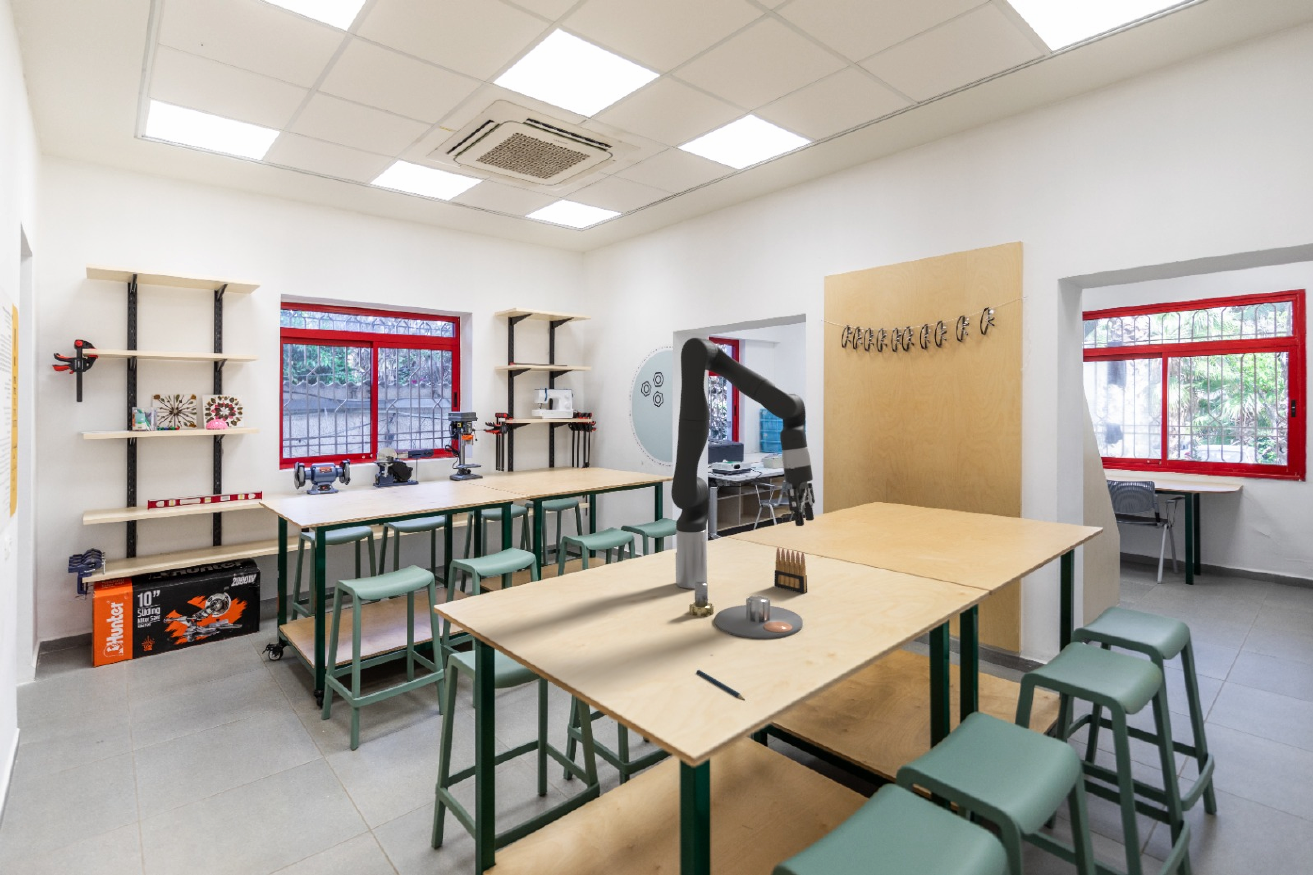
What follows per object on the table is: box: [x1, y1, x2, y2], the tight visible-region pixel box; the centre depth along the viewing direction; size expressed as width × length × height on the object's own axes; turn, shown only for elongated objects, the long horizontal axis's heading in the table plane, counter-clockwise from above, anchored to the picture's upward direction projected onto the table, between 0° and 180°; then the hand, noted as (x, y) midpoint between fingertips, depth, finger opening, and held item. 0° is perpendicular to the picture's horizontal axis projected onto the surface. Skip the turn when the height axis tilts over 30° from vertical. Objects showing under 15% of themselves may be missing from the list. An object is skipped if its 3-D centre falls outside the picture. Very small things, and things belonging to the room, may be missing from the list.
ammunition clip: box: [773, 547, 808, 594], centre depth 189 cm, size 11×2×12 cm, turn 43°
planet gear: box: [688, 581, 715, 618], centre depth 169 cm, size 6×6×8 cm
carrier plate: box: [714, 595, 804, 640], centre depth 161 cm, size 22×22×6 cm
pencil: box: [696, 669, 746, 701], centre depth 126 cm, size 1×1×15 cm
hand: (805, 523), depth 175 cm, fingers open, 8 cm apart
